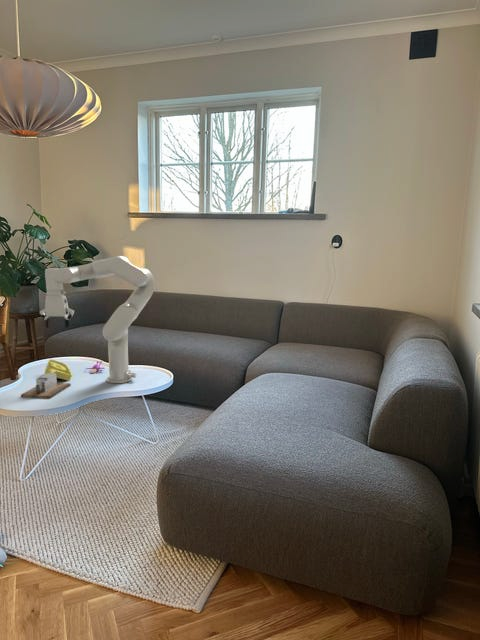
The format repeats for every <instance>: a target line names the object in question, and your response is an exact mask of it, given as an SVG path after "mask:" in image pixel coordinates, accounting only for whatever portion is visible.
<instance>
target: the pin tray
mask: <svg viewBox="0 0 480 640" xmlns="http://www.w3.org/2000/svg"><path fill="white" fill-rule="evenodd" d="M69 387H71V383H70V382H69V383H68V382H66V383H65V382H57V386H55V387H53V388H52V389H50V390H48V391H46V392H40V386H39V385H37V384H36V385H35V386H34V387H32V388H31V389H28V390H26V391H25V392H23V393H21V394H20V397H21V398H30V399H31V398H33V399H35V398H36V399H52V398H53V397H55V396H56V395H58V394H60V393H61V392H63V391H65V390H66V389H68V388H69Z"/></svg>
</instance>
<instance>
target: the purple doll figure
mask: <svg viewBox="0 0 480 640" xmlns="http://www.w3.org/2000/svg"><path fill="white" fill-rule="evenodd" d="M102 362H103V361H102V360H100V363H99V361H98V360H97V361H96V364H94V365H92V367H85V369H84V371H86V370H91V371H89V373H90V374H91V375H93V374H95V373H102V372H104V371H103V370H102V369H104V370H106V367H101V365H102Z"/></svg>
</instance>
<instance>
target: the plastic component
mask: <svg viewBox="0 0 480 640" xmlns="http://www.w3.org/2000/svg"><path fill="white" fill-rule="evenodd" d="M47 373H56V378H57V379H60V380H64V381H70V380H71V378H72V376H73V373H72V371H71V370H70V368H69V366H68V365H67V364H66V363H64V362H61V361H59V360H55V359H49V360H48V362H47V364H46V367H45V369H44V375H46V374H47ZM44 375H43V376H44Z"/></svg>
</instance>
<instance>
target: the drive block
mask: <svg viewBox="0 0 480 640" xmlns="http://www.w3.org/2000/svg"><path fill="white" fill-rule="evenodd" d="M57 379H58V378H56V373H47V374H46V375H42V376H40V377H37V378H36V379H35V383H36V385H39V386H40V392H46V391H48V390H50V389H52V388H53V387H55V386H57V383H58V380H57Z"/></svg>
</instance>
